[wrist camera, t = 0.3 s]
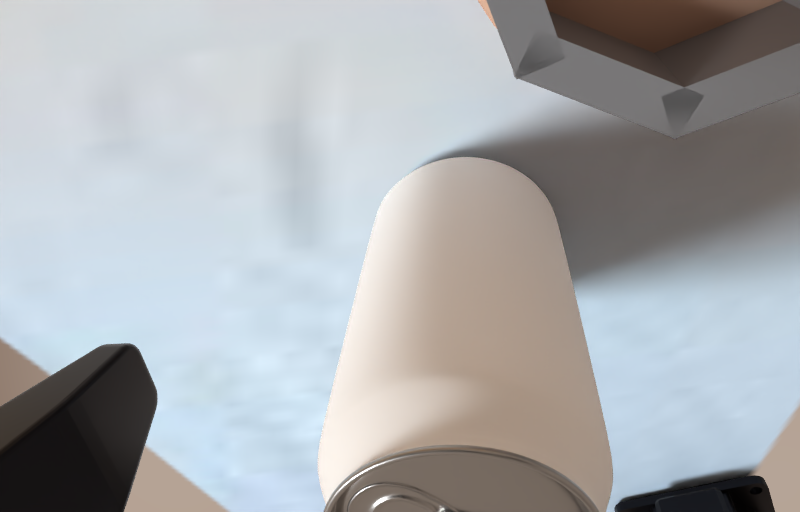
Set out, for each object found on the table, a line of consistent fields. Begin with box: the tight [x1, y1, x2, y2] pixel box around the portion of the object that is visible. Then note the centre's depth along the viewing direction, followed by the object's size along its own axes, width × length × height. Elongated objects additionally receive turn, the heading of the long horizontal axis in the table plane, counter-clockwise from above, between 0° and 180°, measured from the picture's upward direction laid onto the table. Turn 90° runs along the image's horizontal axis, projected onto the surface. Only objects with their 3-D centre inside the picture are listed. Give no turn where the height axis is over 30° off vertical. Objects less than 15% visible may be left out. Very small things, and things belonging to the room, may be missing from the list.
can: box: [318, 157, 613, 512], centre depth 18 cm, size 6×6×12 cm
